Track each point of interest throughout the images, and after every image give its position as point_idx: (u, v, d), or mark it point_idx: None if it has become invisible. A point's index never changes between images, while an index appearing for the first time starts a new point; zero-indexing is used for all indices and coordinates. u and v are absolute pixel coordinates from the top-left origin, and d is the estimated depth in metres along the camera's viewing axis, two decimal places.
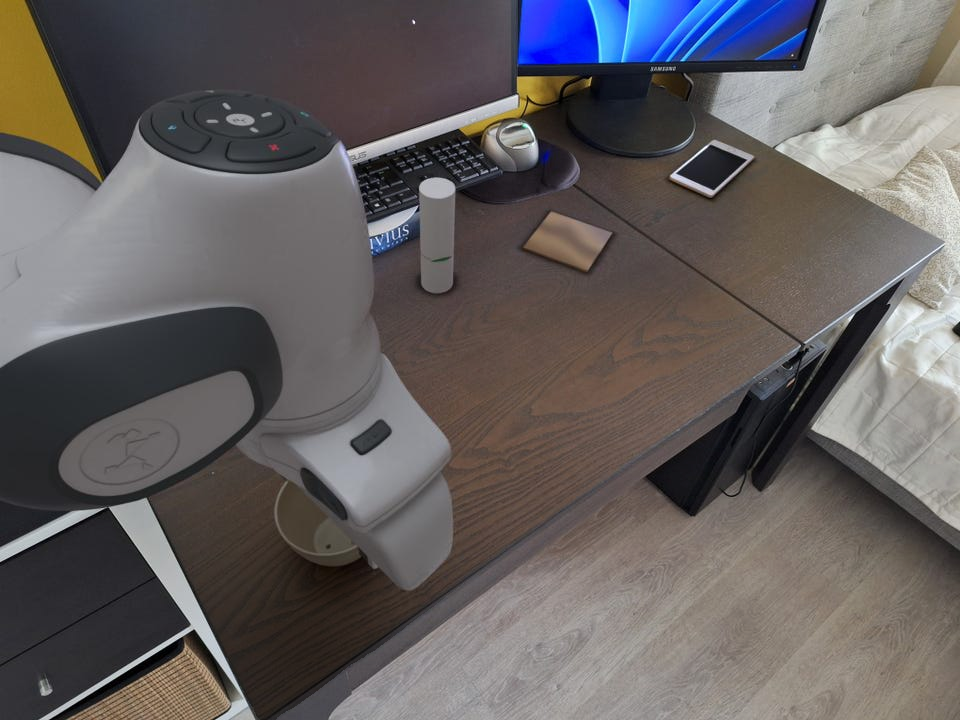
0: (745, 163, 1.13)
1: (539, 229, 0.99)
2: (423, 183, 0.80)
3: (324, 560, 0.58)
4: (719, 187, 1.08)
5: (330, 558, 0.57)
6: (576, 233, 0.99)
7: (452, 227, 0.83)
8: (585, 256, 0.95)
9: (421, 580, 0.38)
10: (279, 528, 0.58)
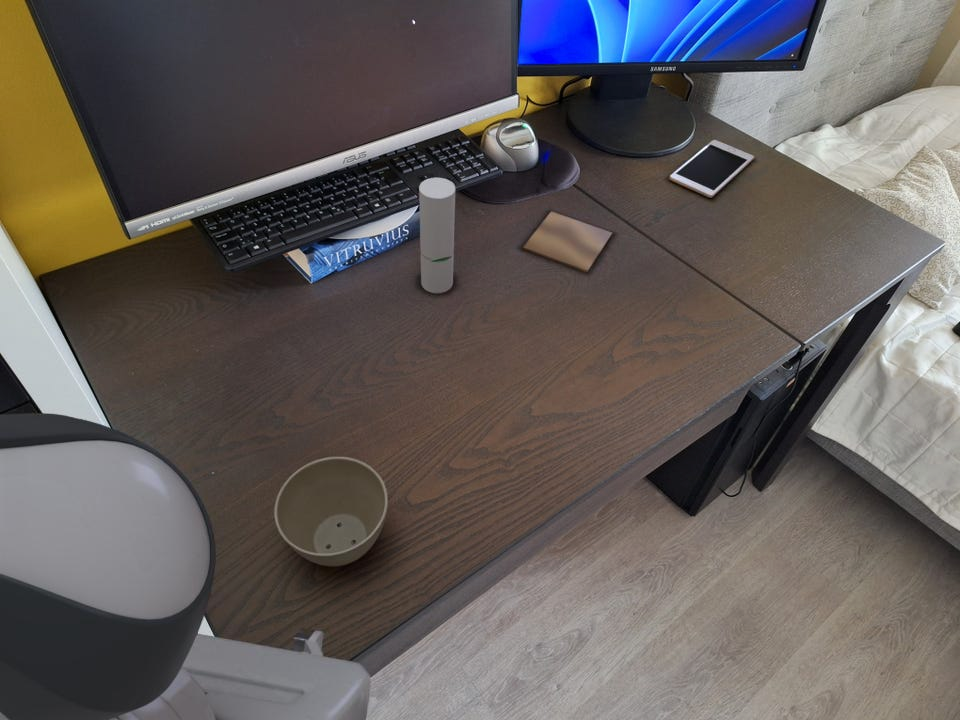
0: (745, 163, 1.13)
1: (539, 229, 0.99)
2: (423, 183, 0.80)
3: (324, 560, 0.58)
4: (719, 187, 1.08)
5: (330, 558, 0.57)
6: (576, 233, 0.99)
7: (452, 227, 0.83)
8: (585, 256, 0.95)
9: None
10: (279, 528, 0.58)
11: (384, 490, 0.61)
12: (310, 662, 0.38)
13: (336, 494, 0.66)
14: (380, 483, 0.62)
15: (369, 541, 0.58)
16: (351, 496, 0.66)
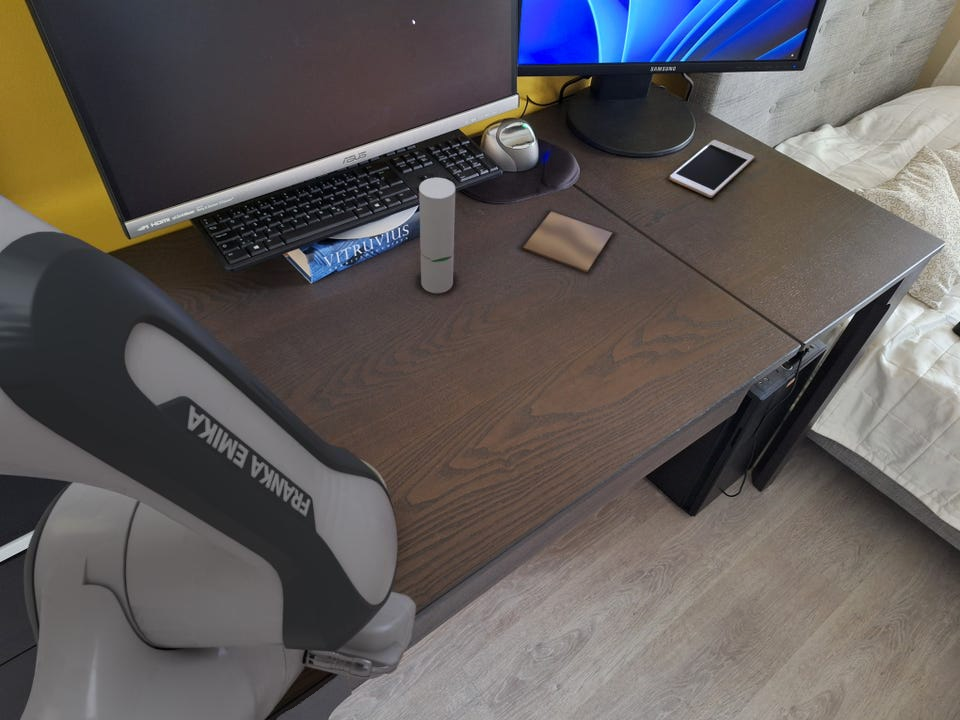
0: (745, 163, 1.13)
1: (539, 229, 0.99)
2: (423, 183, 0.80)
3: None
4: (719, 187, 1.08)
5: None
6: (576, 233, 0.99)
7: (452, 227, 0.83)
8: (585, 256, 0.95)
9: None
10: None
11: None
12: None
13: None
14: None
15: None
16: None
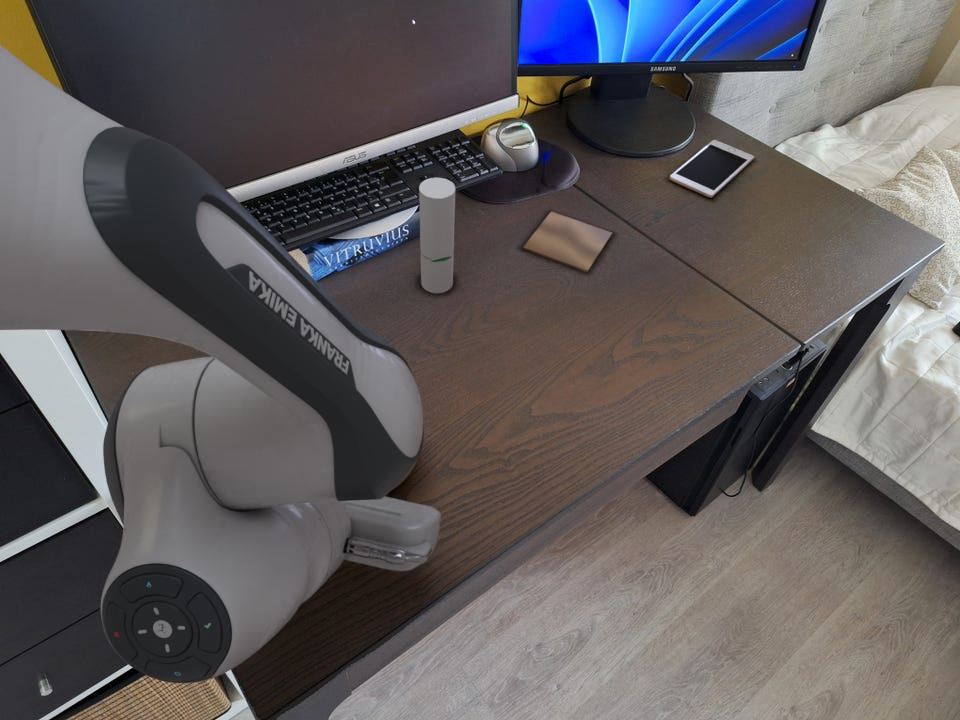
0: (745, 163, 1.13)
1: (539, 229, 0.99)
2: (423, 183, 0.80)
3: None
4: (719, 187, 1.08)
5: None
6: (576, 233, 0.99)
7: (452, 227, 0.83)
8: (585, 256, 0.95)
9: None
10: None
11: None
12: (401, 502, 0.57)
13: None
14: None
15: None
16: None
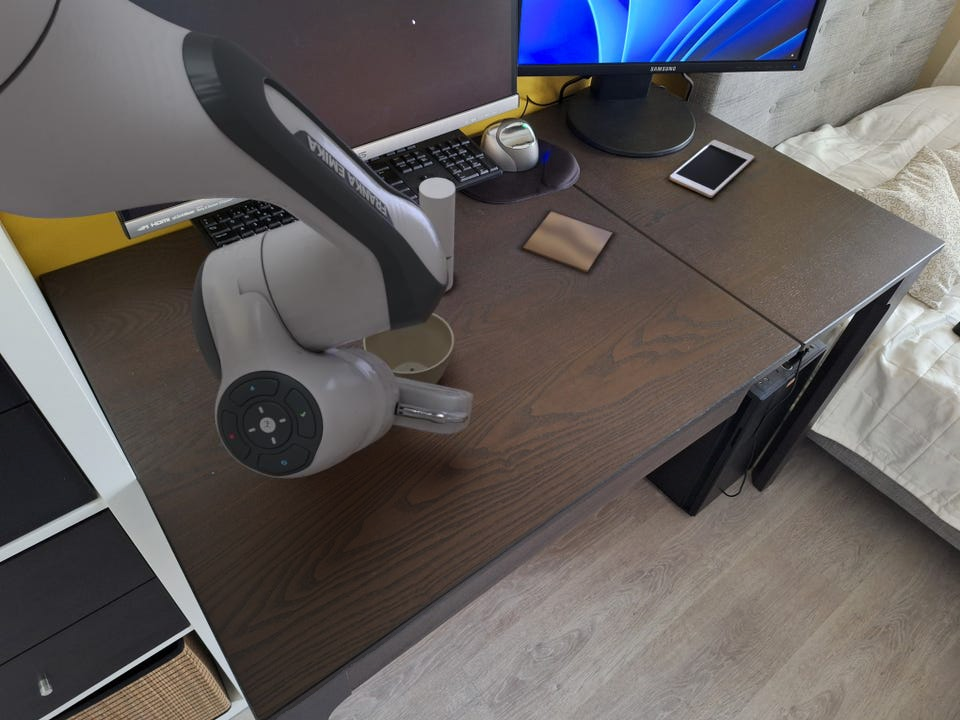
0: (745, 163, 1.13)
1: (539, 229, 0.99)
2: (423, 183, 0.80)
3: None
4: (719, 187, 1.08)
5: (399, 376, 0.71)
6: (576, 233, 0.99)
7: (452, 227, 0.83)
8: (585, 256, 0.95)
9: None
10: (365, 348, 0.73)
11: (452, 338, 0.74)
12: (438, 385, 0.65)
13: (414, 344, 0.79)
14: (450, 334, 0.75)
15: (432, 371, 0.72)
16: (426, 348, 0.79)
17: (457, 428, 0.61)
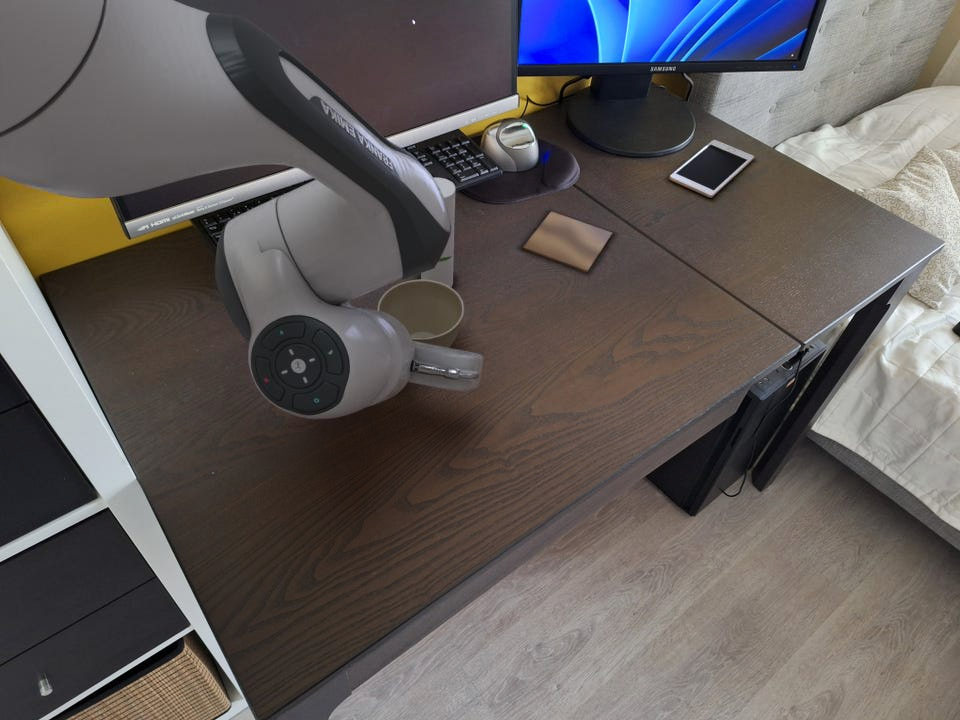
0: (745, 163, 1.13)
1: (539, 229, 0.99)
2: None
3: None
4: (719, 187, 1.08)
5: None
6: (576, 233, 0.99)
7: (452, 227, 0.83)
8: (585, 256, 0.95)
9: None
10: None
11: (462, 307, 0.77)
12: (450, 348, 0.69)
13: (425, 314, 0.83)
14: (460, 303, 0.78)
15: (444, 338, 0.75)
16: (436, 318, 0.83)
17: (468, 386, 0.64)
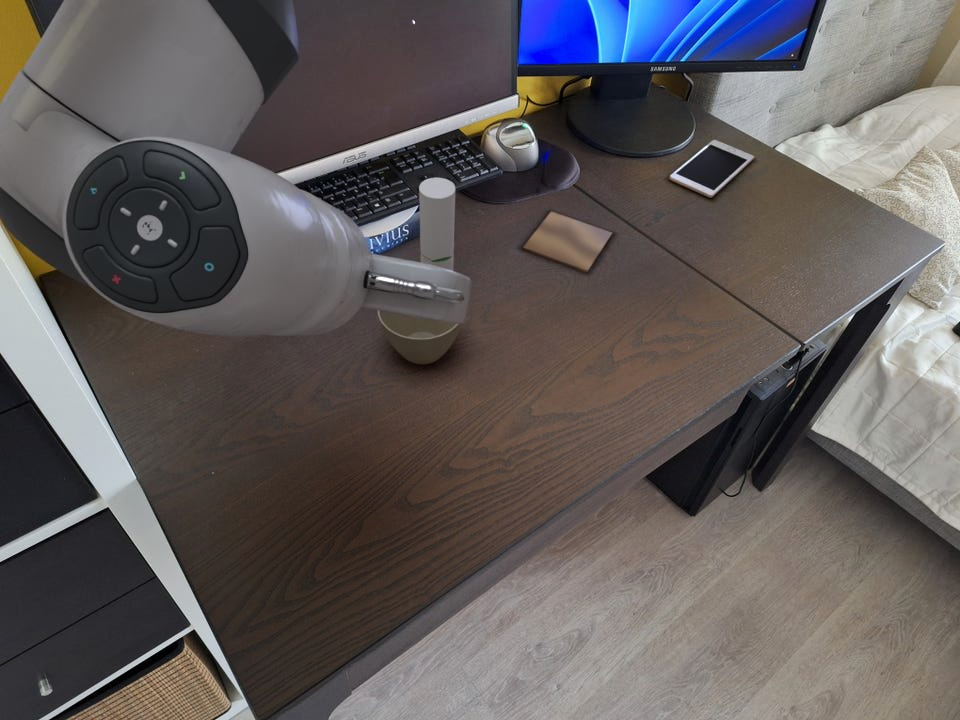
0: (745, 163, 1.13)
1: (539, 229, 0.99)
2: (423, 183, 0.80)
3: (408, 344, 0.75)
4: (719, 187, 1.08)
5: (413, 342, 0.74)
6: (576, 233, 0.99)
7: (452, 227, 0.83)
8: (585, 256, 0.95)
9: None
10: (379, 316, 0.76)
11: None
12: None
13: None
14: None
15: (444, 338, 0.75)
16: None
17: (449, 314, 0.45)
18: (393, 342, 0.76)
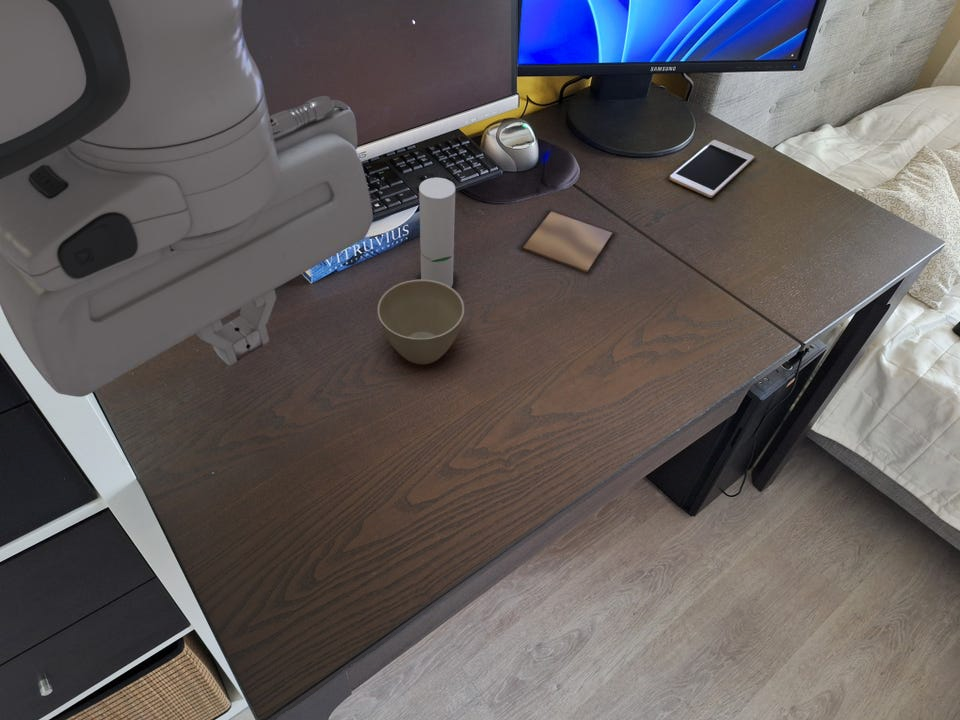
0: (745, 163, 1.13)
1: (539, 229, 0.99)
2: (423, 183, 0.80)
3: (408, 344, 0.75)
4: (719, 187, 1.08)
5: (413, 342, 0.74)
6: (576, 233, 0.99)
7: (452, 227, 0.83)
8: (585, 256, 0.95)
9: None
10: (379, 316, 0.76)
11: (462, 307, 0.77)
12: None
13: (425, 314, 0.83)
14: (460, 303, 0.78)
15: (444, 338, 0.75)
16: (436, 318, 0.83)
17: None
18: (393, 342, 0.76)
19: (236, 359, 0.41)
